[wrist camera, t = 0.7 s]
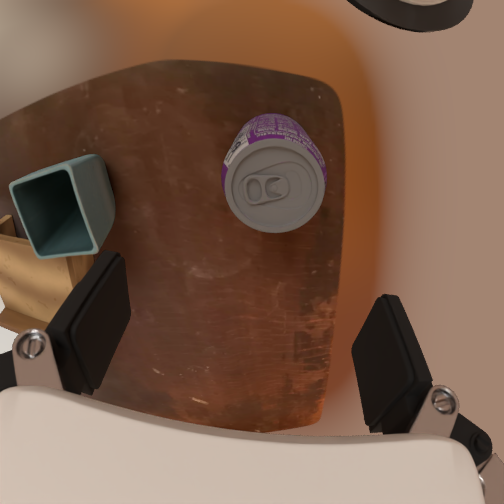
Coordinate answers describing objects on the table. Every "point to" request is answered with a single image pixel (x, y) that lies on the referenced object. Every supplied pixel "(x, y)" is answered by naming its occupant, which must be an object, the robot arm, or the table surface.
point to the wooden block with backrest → (33, 281)
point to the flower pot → (66, 207)
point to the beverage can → (273, 174)
